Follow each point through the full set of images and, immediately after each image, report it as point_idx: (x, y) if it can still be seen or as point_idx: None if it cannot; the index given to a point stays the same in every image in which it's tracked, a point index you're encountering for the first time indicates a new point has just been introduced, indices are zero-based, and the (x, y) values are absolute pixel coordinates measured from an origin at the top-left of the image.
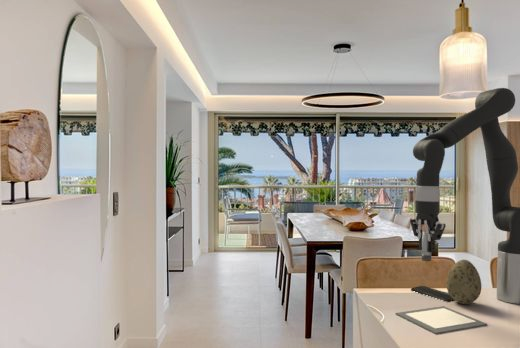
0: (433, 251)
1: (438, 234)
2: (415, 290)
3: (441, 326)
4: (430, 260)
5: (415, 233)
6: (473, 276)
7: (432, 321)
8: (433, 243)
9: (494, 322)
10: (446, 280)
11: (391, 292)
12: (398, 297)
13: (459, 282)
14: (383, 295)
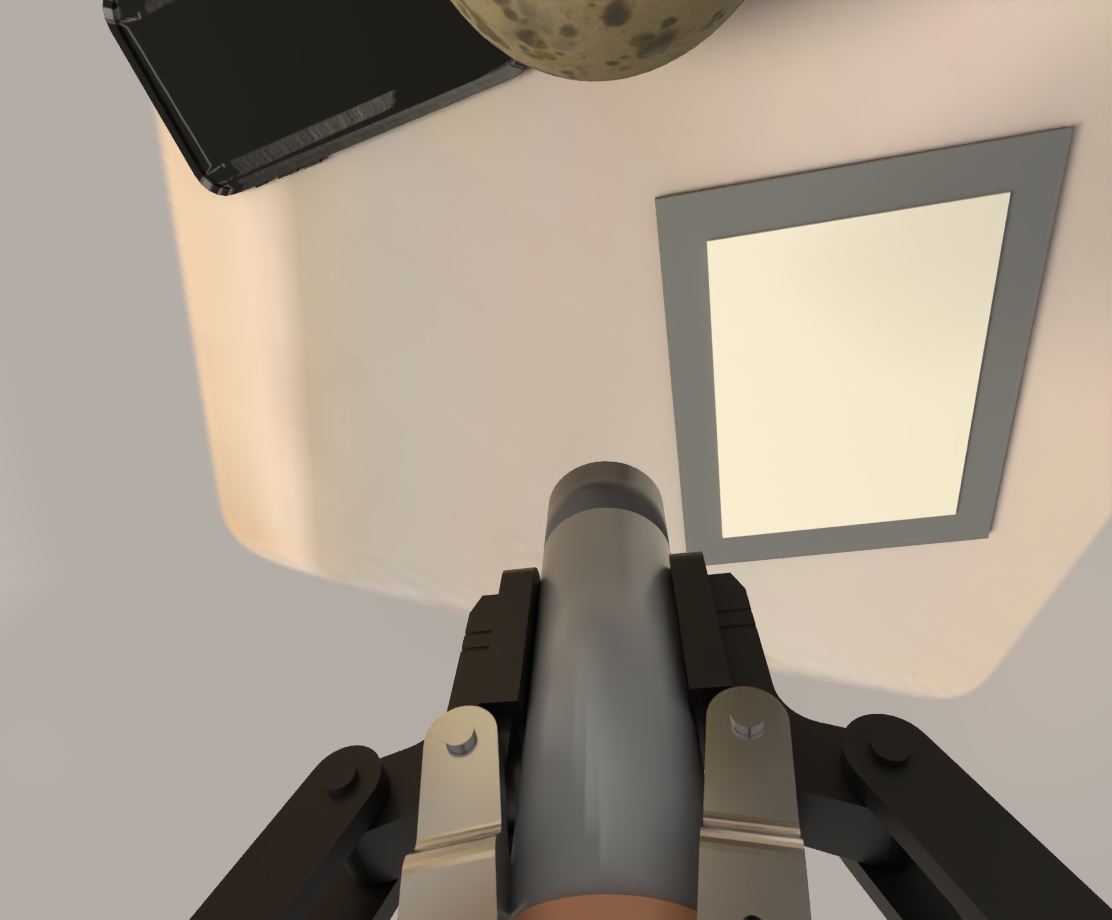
0: (702, 558)
1: (935, 856)
2: (261, 181)
3: (953, 471)
4: (661, 499)
5: (388, 883)
6: None
7: (875, 471)
8: (755, 683)
9: (1065, 2)
10: (493, 44)
11: (292, 378)
12: (406, 392)
13: (712, 30)
14: (362, 463)
